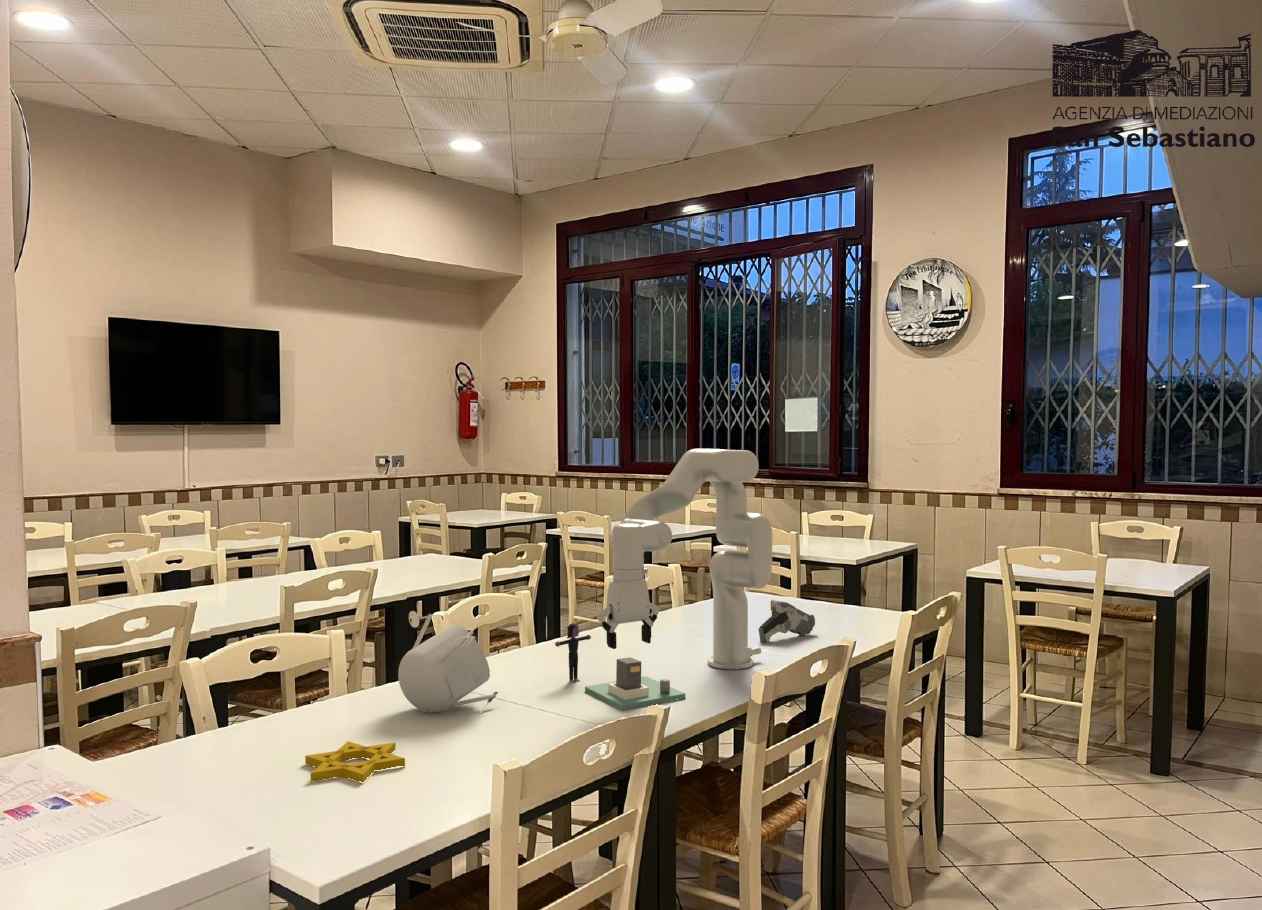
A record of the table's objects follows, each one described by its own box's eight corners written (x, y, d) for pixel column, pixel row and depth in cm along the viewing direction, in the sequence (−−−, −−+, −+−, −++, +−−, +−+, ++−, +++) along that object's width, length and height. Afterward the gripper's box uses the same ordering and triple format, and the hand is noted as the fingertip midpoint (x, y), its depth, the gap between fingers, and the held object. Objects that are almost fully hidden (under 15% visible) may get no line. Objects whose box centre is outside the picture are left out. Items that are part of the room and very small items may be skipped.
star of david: (419, 753, 184) (419, 742, 184) (389, 786, 166) (389, 774, 166) (324, 751, 185) (324, 740, 185) (284, 784, 168) (284, 772, 168)
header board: (646, 680, 235) (646, 664, 235) (685, 698, 220) (685, 681, 220) (585, 691, 226) (584, 674, 226) (621, 710, 210) (621, 692, 210)
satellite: (364, 637, 211) (417, 666, 192) (436, 595, 222) (491, 619, 203) (397, 717, 218) (450, 752, 200) (464, 672, 230) (520, 702, 211)
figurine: (560, 686, 230) (560, 628, 229) (551, 683, 232) (550, 625, 232) (595, 677, 238) (595, 620, 238) (585, 674, 241) (585, 618, 241)
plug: (630, 689, 223) (630, 657, 223) (642, 695, 218) (642, 662, 218) (616, 691, 221) (616, 659, 221) (627, 697, 216) (628, 664, 216)
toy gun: (804, 662, 285) (819, 617, 289) (760, 641, 275) (776, 594, 278) (796, 659, 288) (811, 615, 292) (752, 638, 278) (768, 593, 281)
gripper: (650, 569, 226) (651, 636, 227) (589, 576, 218) (590, 646, 218) (666, 573, 220) (667, 643, 221) (604, 580, 211) (605, 653, 212)
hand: (629, 644), depth 219 cm, fingers open, 9 cm apart
